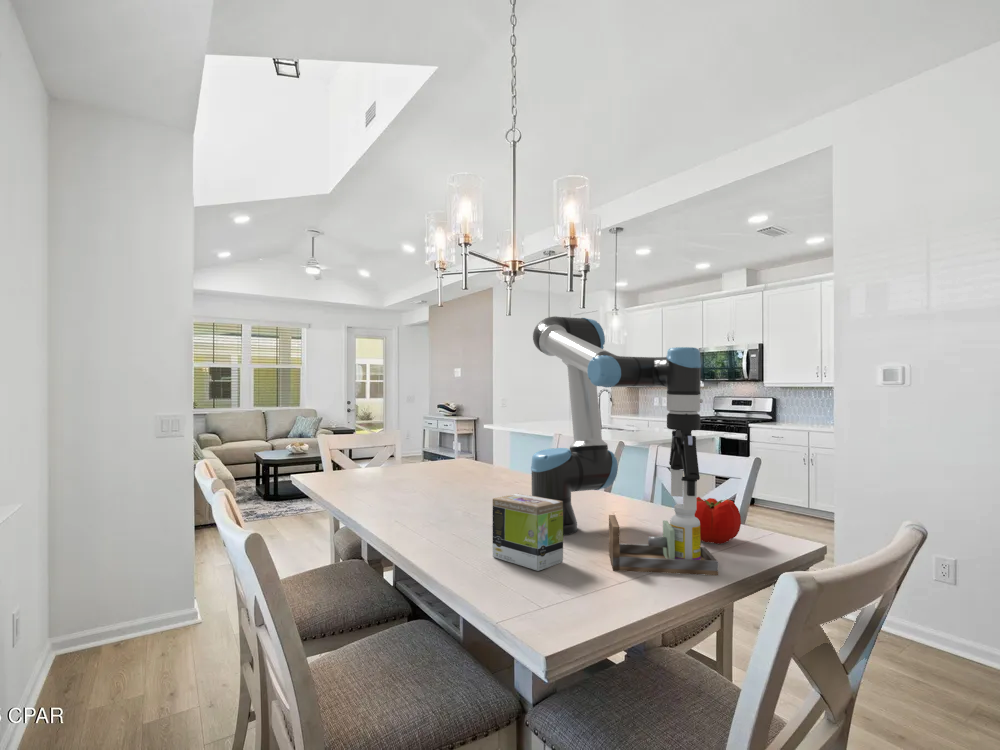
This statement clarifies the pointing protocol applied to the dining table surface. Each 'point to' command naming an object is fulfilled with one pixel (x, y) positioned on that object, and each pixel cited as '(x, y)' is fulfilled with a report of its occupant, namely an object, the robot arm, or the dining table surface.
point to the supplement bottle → (686, 534)
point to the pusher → (665, 541)
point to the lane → (653, 557)
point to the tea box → (528, 530)
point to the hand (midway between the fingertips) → (683, 502)
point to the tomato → (717, 520)
